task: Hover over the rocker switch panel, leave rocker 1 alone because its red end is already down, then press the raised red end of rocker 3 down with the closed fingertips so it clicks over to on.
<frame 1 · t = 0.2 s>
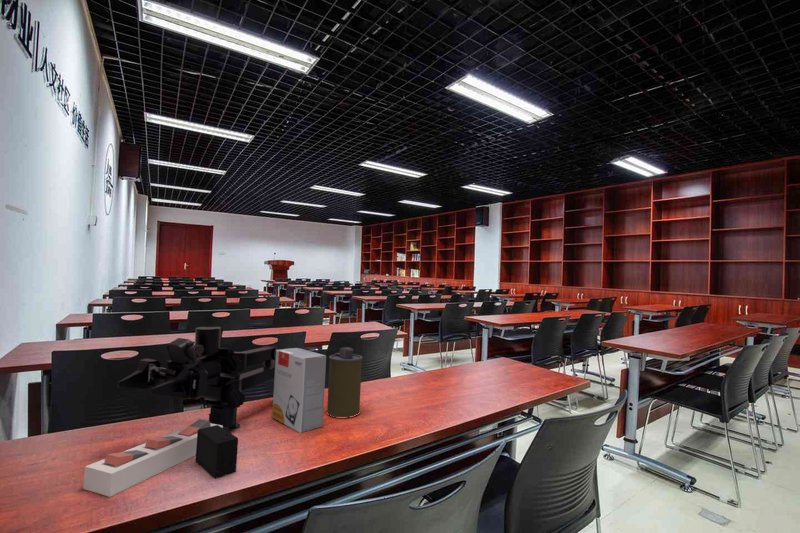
hand: (134, 387, 77), 17 cm above the table, tool horizontal, fingers open, 9 cm apart
rocker switch panel: (162, 462, 80), on the table
black cubic block: (218, 467, 79), on the table
rocker 3: (126, 457, 73), point 4 cm above the table, hinge at -14.0°
hard drive box: (296, 423, 106), on the table
rocker 1: (194, 429, 87), point 4 cm above the table, hinge at 14.0°
rocker 2: (164, 442, 80), point 4 cm above the table, hinge at -14.0°
canister: (342, 413, 116), on the table
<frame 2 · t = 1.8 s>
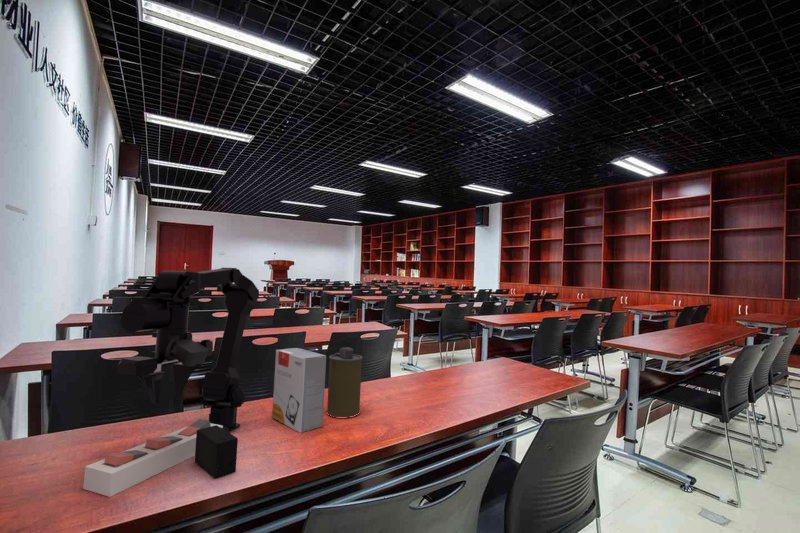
hand: (167, 400, 81), 13 cm above the table, tool pointing down, fingers open, 5 cm apart
nothing on the table moved.
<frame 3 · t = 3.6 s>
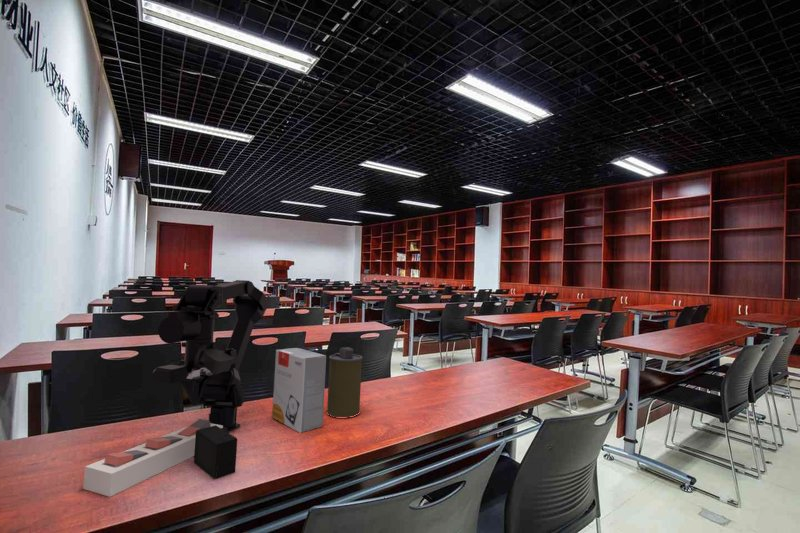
hand: (194, 404, 87), 10 cm above the table, tool pointing down, fingers closed
nothing on the table moved.
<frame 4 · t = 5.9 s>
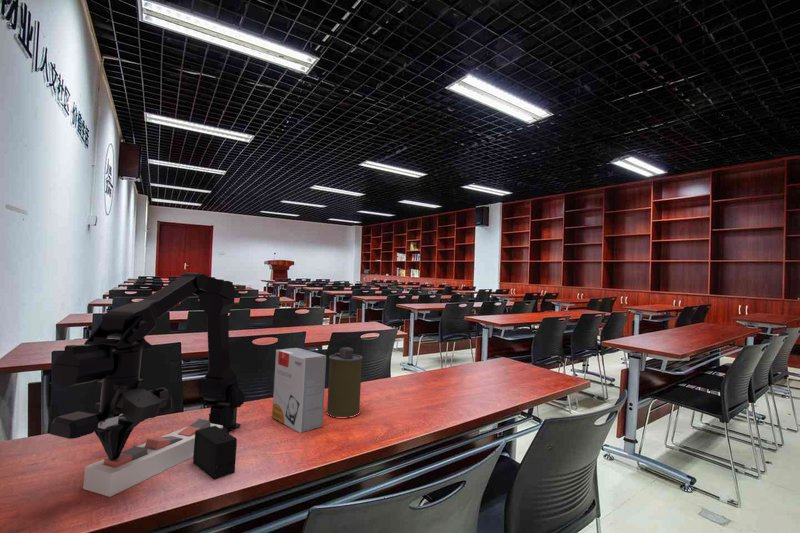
hand: (113, 459, 70), 5 cm above the table, tool pointing down, fingers closed
rocker 3: (126, 457, 72), point 4 cm above the table, hinge at 1.9°, touching gripper
everything else where it was.
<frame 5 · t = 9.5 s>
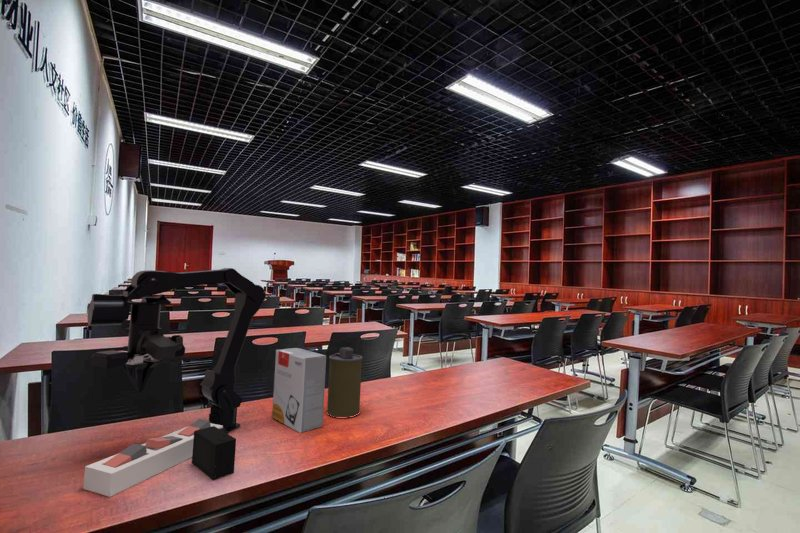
hand: (139, 391, 86), 13 cm above the table, tool pointing down, fingers closed
rocker 3: (125, 457, 72), point 4 cm above the table, hinge at 16.4°
everything else where it was.
at the end: rocker 3 at +16° (first picture: -14°); rocker 1 at +14° (first picture: +14°); rocker 2 at -14° (first picture: -14°) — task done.
